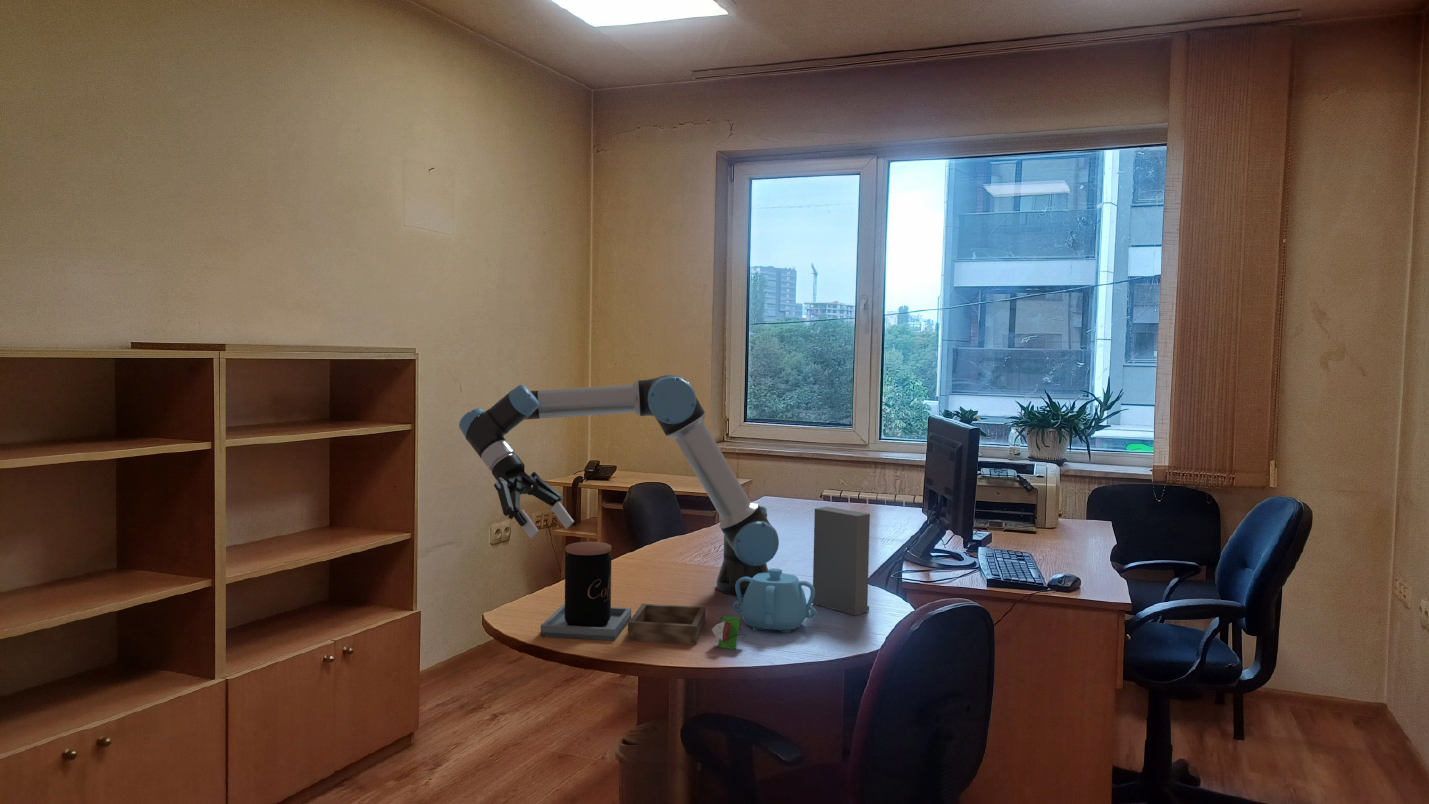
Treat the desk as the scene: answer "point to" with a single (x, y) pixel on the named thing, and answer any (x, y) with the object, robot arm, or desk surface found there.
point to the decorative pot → (774, 601)
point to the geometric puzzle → (727, 632)
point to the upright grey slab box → (841, 559)
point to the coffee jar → (588, 584)
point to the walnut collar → (667, 623)
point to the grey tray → (610, 631)
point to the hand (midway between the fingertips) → (553, 530)
